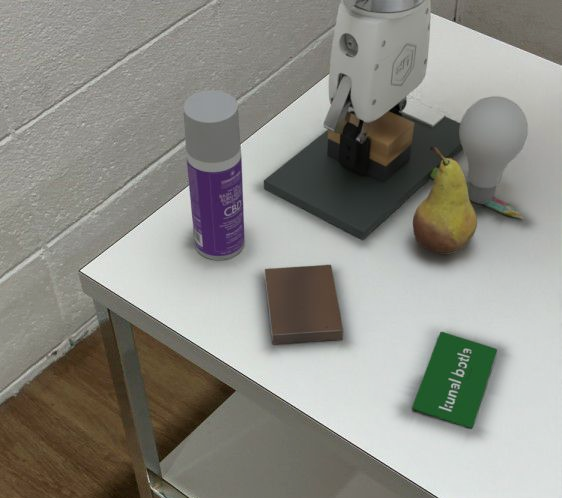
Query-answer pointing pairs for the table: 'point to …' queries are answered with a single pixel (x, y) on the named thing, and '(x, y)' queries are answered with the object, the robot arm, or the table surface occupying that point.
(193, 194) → the container
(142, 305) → the table surface
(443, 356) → the business card
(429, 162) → the board
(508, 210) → the pencil
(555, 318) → the table surface
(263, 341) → the table surface
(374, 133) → the eraser
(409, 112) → the white rectangular block
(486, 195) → the lightbulb
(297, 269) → the eraser rest
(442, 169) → the fruit
